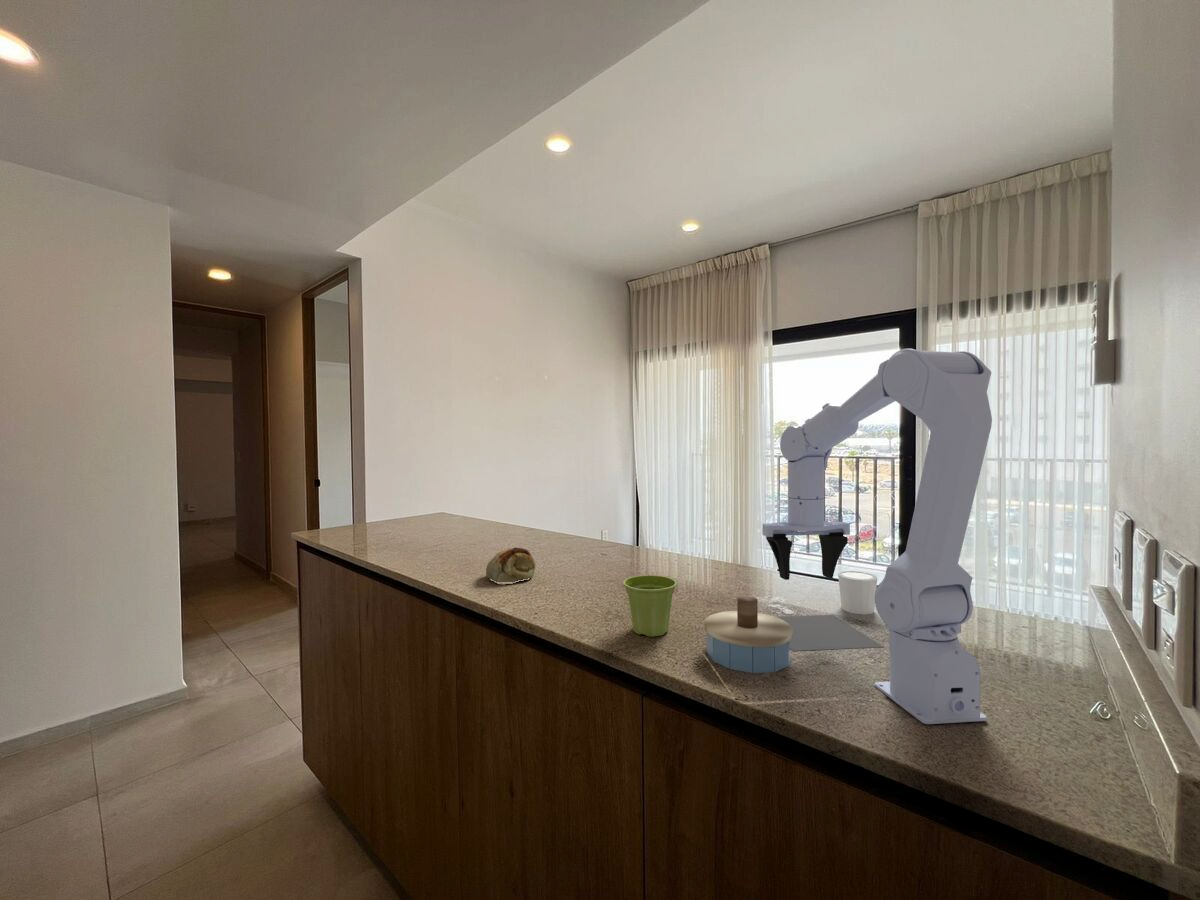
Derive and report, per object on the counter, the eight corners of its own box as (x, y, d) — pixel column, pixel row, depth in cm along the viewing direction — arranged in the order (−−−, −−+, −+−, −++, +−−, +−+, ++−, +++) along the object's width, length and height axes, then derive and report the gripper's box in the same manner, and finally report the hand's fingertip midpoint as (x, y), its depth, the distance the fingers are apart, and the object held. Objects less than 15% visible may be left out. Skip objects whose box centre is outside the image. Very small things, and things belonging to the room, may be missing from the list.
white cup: (882, 617, 93) (882, 580, 93) (843, 615, 95) (843, 578, 95) (870, 606, 100) (870, 571, 100) (833, 604, 101) (833, 569, 101)
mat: (884, 648, 79) (884, 646, 79) (793, 652, 78) (793, 650, 78) (832, 616, 94) (832, 614, 94) (755, 619, 93) (755, 617, 93)
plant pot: (634, 644, 82) (633, 591, 82) (616, 624, 91) (616, 577, 91) (686, 637, 85) (685, 586, 84) (664, 619, 94) (664, 573, 94)
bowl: (804, 672, 71) (804, 644, 71) (722, 676, 70) (722, 647, 70) (769, 639, 83) (769, 615, 83) (698, 642, 82) (698, 618, 82)
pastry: (516, 588, 115) (516, 553, 115) (473, 582, 120) (472, 549, 120) (547, 573, 128) (547, 542, 128) (506, 569, 133) (506, 539, 133)
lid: (807, 646, 71) (807, 612, 71) (717, 648, 70) (716, 614, 70) (772, 614, 84) (772, 586, 84) (696, 616, 83) (695, 587, 83)
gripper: (833, 494, 89) (834, 570, 89) (755, 496, 88) (755, 572, 88) (857, 498, 82) (857, 581, 82) (772, 500, 81) (772, 583, 81)
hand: (806, 577), depth 85 cm, fingers open, 7 cm apart
